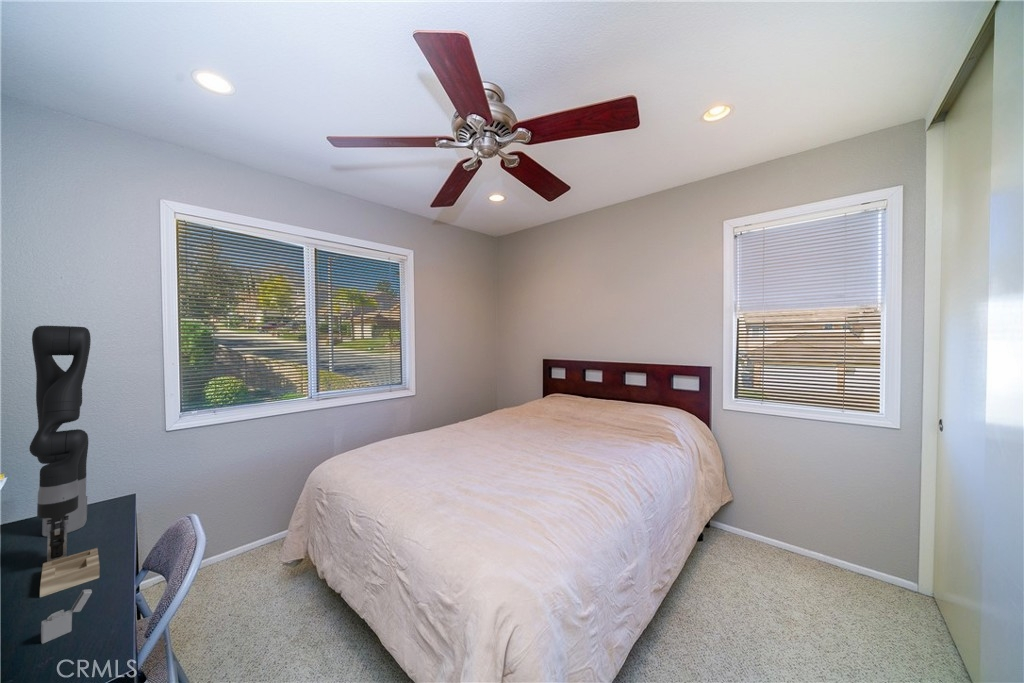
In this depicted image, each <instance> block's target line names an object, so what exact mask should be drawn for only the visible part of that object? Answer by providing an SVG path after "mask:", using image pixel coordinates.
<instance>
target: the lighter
mask: <svg viewBox="0 0 1024 683" xmlns="http://www.w3.org/2000/svg"><path fill="white" fill-rule="evenodd" d="M92 593H93V590H92V589H91V588H90V589H89V588H88V589H86V588H85V589H82V591H81V593H80V594H79V595H78V597H77V598H76V599H75V602H74V603H73V605H72V607H71V609H69V610H67V611H65V609H61V610H57V611H56V612H53V613H51V614H50V615H49V616H47V618H46V619H44V620H42V621H40V622H41V623H40V624H41V625H40V626H41V627H40V628H41V630H40V642H41V644H42V645H43V644H45V643H47V642H50V641H52V640H55V639H57V638H59V637H61V636H64V635H66V634H68V633H71V632H72V631H73V630H72V629H73V628H72V627H73V622H72V621H73V613H80V612H81V611H82V609H84V607H85V605H86V603H87V601H88V600H89V599H90V596H91V595H92Z"/></svg>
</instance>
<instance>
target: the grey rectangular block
mask: <svg viewBox="0 0 1024 683" xmlns="http://www.w3.org/2000/svg"><path fill="white" fill-rule="evenodd" d="M67 539H68V533H67V534H66V535H64V540H65V542H64V544H63V555H62V556H61V557H57V558H54V559H51V547H50V546H49V544H50V539H48V537H47V542H46V543H47V544H46V545H47V548H46V562H50V561H53V560H57V559H60V558H64V557H67V548H68V547H67V546H68V545H67V544H68V540H67ZM59 540H61V539H57V540H54V541H53V542H55V541H59Z"/></svg>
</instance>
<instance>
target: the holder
mask: <svg viewBox="0 0 1024 683" xmlns="http://www.w3.org/2000/svg"><path fill="white" fill-rule="evenodd" d="M99 578H100V559H99V549H98V547H95V548H92V549H87V550H84V551H82V552H78V553H74V554H71V555H68V556H67V555H66V557H64V558H60V559H57V560H53V561H50V562H47V561H46V562H44V563H42V569H41V577H40V584H39V585H40V586H39V598H43V597H46V596H49V595H52V594H54V593H57V592H60V591H63V590H67V589H71V588H73V587H75V586H79V585H82V584H85V583H88V582H91V581H93V580H97V579H99Z"/></svg>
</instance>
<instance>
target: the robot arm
mask: <svg viewBox="0 0 1024 683" xmlns="http://www.w3.org/2000/svg"><path fill="white" fill-rule="evenodd" d="M31 341H32V342H31V344H32V351H33V358H34V364H35V365H34V366H35V372H36V374H35V375H36V378H35V379H36V383H35V386H36V387H35V391H36V392H35V398H36V399H35V400H36V401H35V402H36V411H37V421H38V423H37V424H38V429H37V431H36V433H35V435H34V436H33V438H32V440H31V443H30V445H29V452H30V454H31V455H32V456H33V457H36V458H37V460H38V462H39V463H40V464H42V465H43V466H42V467H41V468H40V469H39V486H38V492H37V503H36V504H37V511H36V516H37V518H38V519H42V523H41V524H42V525H41V526H42V527H41V535H42V536H43V537H47V538H48V539H50V544H49V546H50V547H51V559H54V558H57V557H61V556H62V555H63V544H64V542H65V540H64V535H66V534H67V535H68V534H69V533H72V532H75V531H77V530H79V529H81V528H83V527H84V526H85V525H86V522H87V520H88V518H87V517H88V496H87V460H88V451H89V435H88V433H87V432H86V431H85V430H84V429H78V428H77V429H68V430H59V429H60V427H61V426H62V425H63V424H68V423H72V422H75V421H77V420H79V418H80V414H81V407H82V405H83V383H84V379H85V376H86V375H85V374H86V371H87V365H88V361H89V355H90V350H91V333H90V330H89V329H88V328H87V327H85V326H70V325H39V326H36V327H35V328H34V329H33V330H32V336H31ZM53 356H73V358H72V361H71V363H70V366H69V367H68V368H67V369H66V370H64V369H63V368H62V367H60V366H59V364H58V363H57V362H56V360H55V359H54V357H53ZM58 430H59V431H58ZM57 539H61V540H59V541H55V542H53V541H54V540H57Z"/></svg>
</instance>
